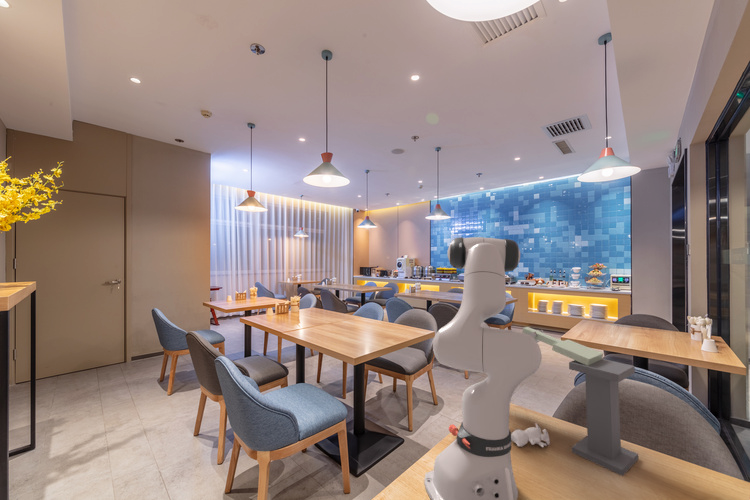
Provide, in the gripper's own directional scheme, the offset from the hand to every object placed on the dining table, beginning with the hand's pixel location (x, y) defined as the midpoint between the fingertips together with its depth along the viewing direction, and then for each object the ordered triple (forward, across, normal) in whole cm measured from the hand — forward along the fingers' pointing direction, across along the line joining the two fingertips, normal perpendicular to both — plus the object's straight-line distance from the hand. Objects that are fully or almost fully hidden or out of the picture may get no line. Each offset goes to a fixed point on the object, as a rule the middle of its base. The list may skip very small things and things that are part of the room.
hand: (539, 333), depth 103 cm
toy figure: (-14, -12, +29) cm, 34 cm away
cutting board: (+3, 0, +5) cm, 6 cm away
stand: (0, 0, +36) cm, 36 cm away
